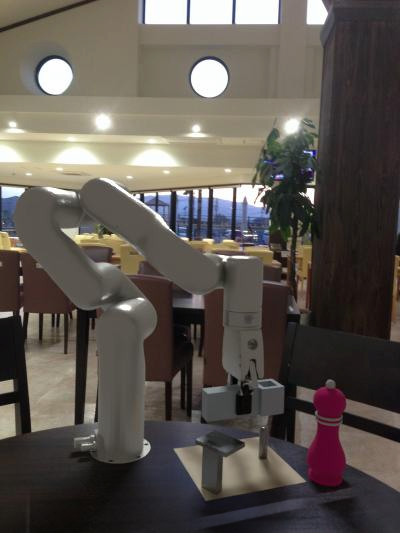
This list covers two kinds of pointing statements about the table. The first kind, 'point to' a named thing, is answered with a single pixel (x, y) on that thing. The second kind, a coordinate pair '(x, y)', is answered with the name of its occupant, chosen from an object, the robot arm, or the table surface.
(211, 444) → the block
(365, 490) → the table surface
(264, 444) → the post
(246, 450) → the base board
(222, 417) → the link
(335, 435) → the pepper mill
